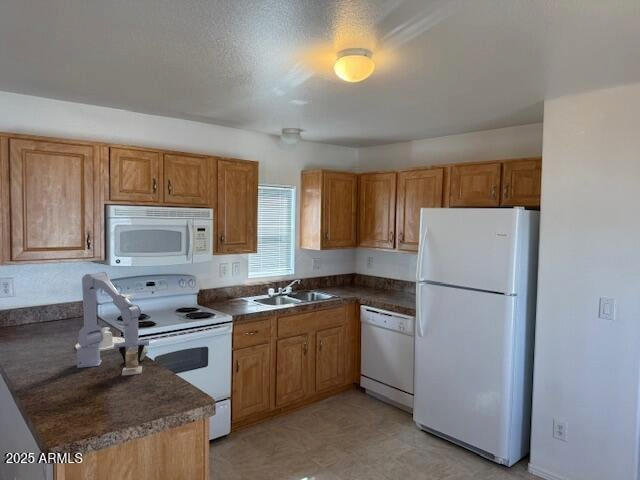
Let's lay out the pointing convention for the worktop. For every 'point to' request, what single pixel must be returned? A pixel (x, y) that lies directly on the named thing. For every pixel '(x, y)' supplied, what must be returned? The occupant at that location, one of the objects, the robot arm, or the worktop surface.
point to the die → (137, 350)
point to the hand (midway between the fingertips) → (132, 362)
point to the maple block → (132, 359)
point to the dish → (107, 340)
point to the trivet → (132, 371)
